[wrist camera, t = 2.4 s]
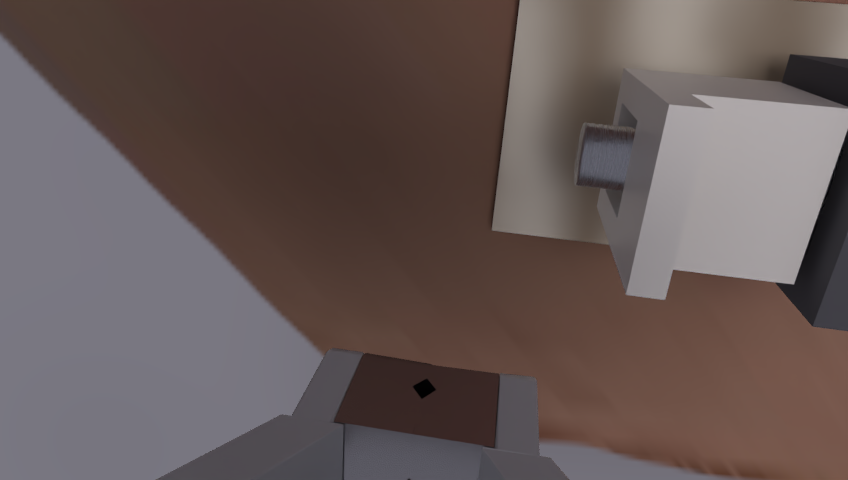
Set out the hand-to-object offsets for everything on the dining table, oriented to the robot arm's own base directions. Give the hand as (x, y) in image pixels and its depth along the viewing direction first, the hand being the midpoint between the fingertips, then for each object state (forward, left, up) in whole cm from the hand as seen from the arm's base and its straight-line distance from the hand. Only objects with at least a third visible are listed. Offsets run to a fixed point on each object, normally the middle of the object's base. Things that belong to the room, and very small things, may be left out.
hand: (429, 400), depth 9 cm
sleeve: (+8, 0, -19) cm, 21 cm away
